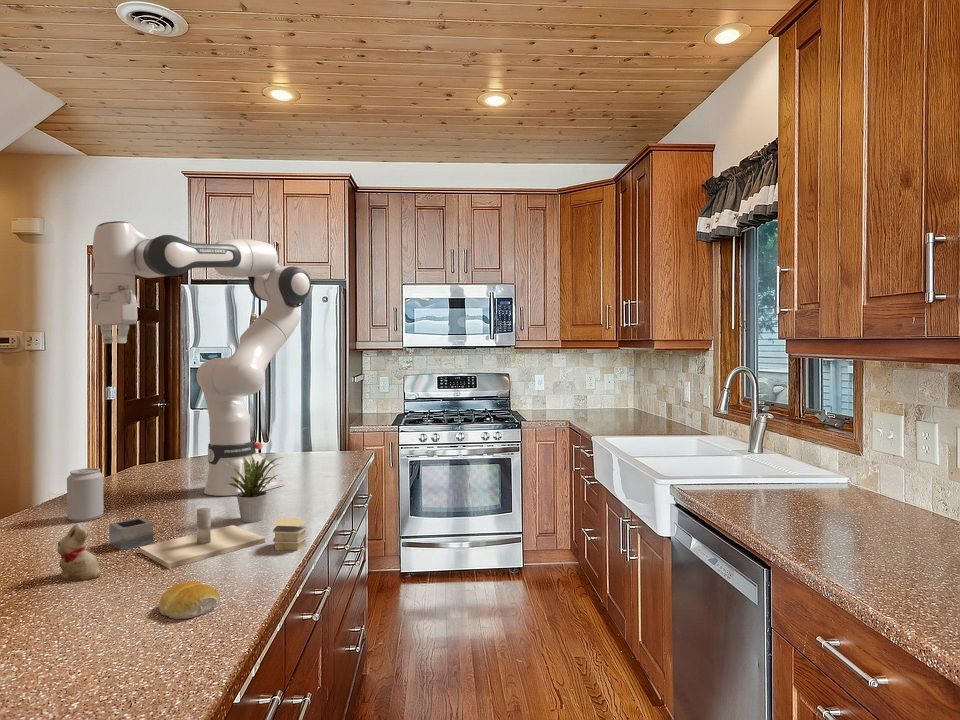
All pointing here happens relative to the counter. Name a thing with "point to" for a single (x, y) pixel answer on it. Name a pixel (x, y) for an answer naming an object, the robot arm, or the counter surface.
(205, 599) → the bread roll
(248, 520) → the house plant
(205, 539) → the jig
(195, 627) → the counter surface
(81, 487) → the can
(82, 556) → the chocolate bunny
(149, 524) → the hollow square tube
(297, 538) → the stacked food containers
